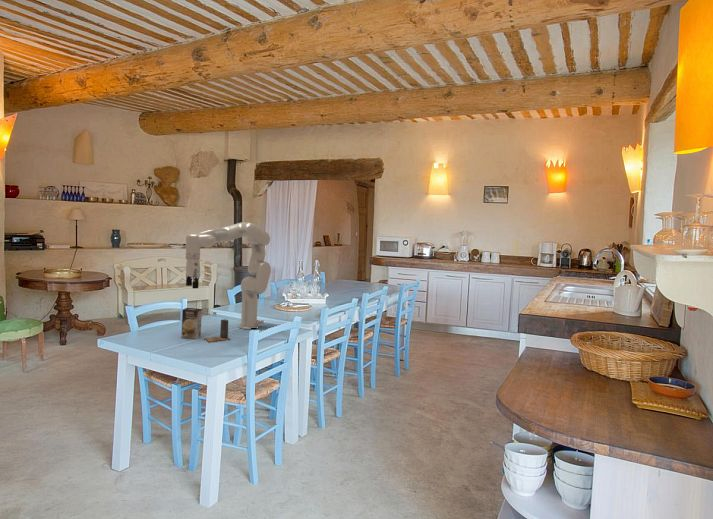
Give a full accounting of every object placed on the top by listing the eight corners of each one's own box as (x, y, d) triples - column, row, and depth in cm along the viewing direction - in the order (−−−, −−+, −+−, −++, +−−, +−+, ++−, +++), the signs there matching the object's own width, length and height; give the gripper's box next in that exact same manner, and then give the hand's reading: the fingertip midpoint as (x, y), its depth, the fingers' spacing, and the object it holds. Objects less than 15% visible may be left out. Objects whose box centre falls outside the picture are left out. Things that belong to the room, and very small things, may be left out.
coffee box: (180, 338, 275) (181, 309, 274) (185, 335, 282) (186, 307, 280) (196, 339, 275) (197, 310, 273) (201, 336, 281) (202, 308, 280)
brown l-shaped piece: (224, 337, 282) (225, 318, 281) (230, 340, 277) (230, 320, 276) (204, 340, 274) (204, 320, 273) (209, 342, 269) (210, 322, 268)
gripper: (205, 257, 272) (204, 288, 273) (193, 255, 285) (193, 284, 287) (191, 258, 267) (191, 289, 269) (180, 255, 281) (180, 285, 282)
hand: (192, 287), depth 278 cm, fingers open, 9 cm apart
